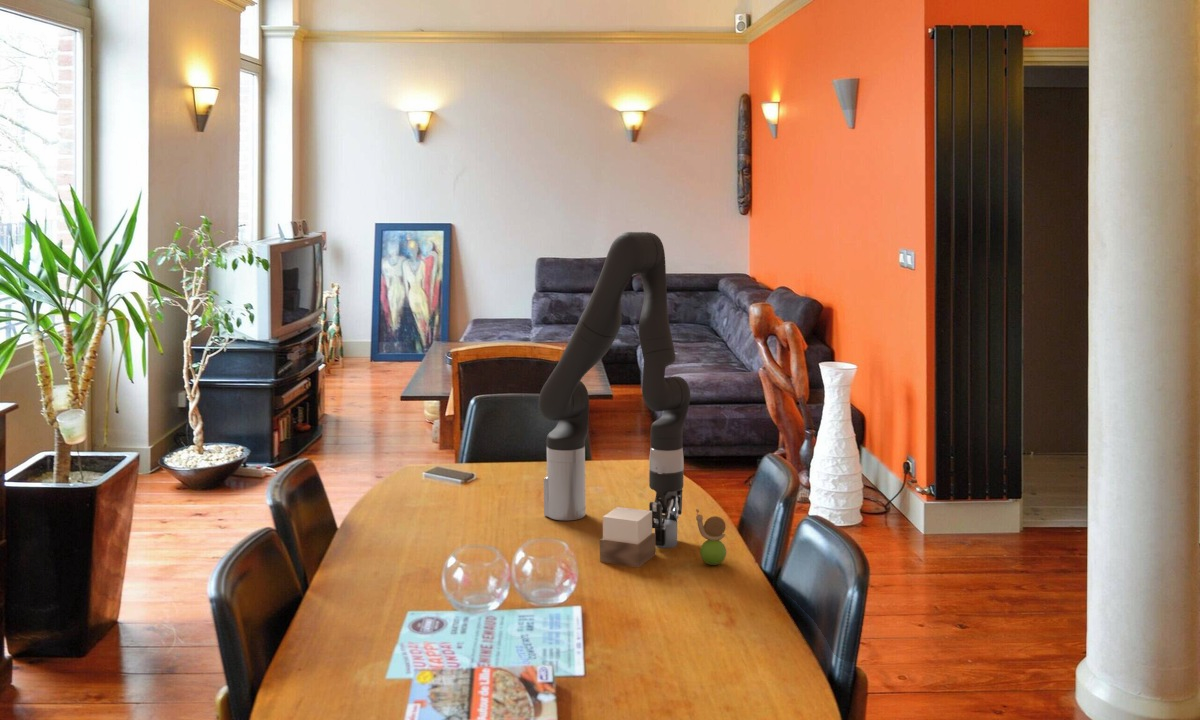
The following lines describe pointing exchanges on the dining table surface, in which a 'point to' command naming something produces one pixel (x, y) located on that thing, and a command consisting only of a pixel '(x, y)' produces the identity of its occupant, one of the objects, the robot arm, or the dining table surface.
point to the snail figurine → (712, 539)
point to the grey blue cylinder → (670, 534)
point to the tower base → (628, 552)
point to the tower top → (627, 525)
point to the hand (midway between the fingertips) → (666, 540)
